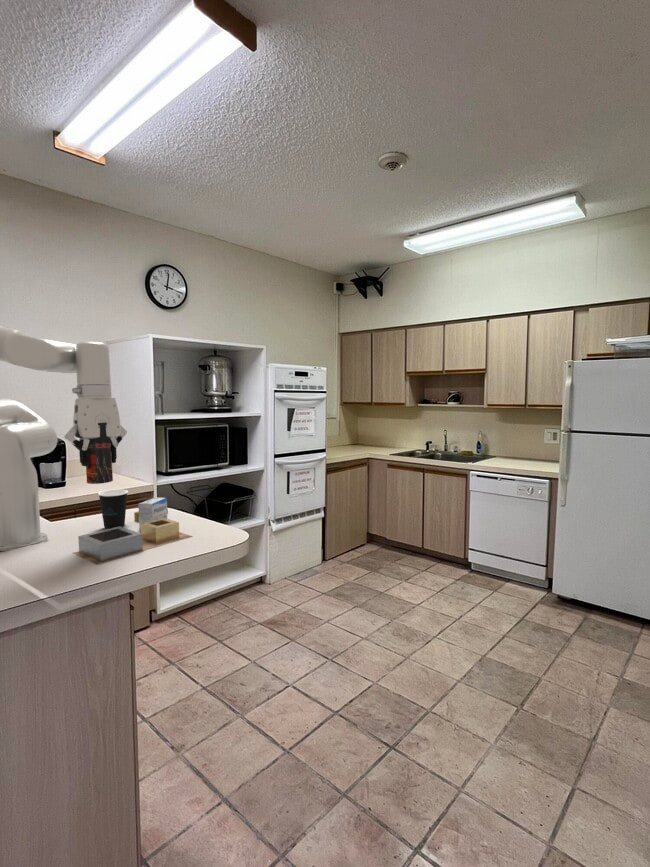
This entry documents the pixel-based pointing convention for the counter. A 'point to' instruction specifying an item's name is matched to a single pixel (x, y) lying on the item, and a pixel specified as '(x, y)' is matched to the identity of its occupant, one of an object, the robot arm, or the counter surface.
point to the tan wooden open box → (160, 530)
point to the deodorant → (100, 458)
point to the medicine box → (152, 510)
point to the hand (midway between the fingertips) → (99, 463)
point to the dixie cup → (113, 507)
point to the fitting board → (146, 546)
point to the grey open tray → (110, 543)
